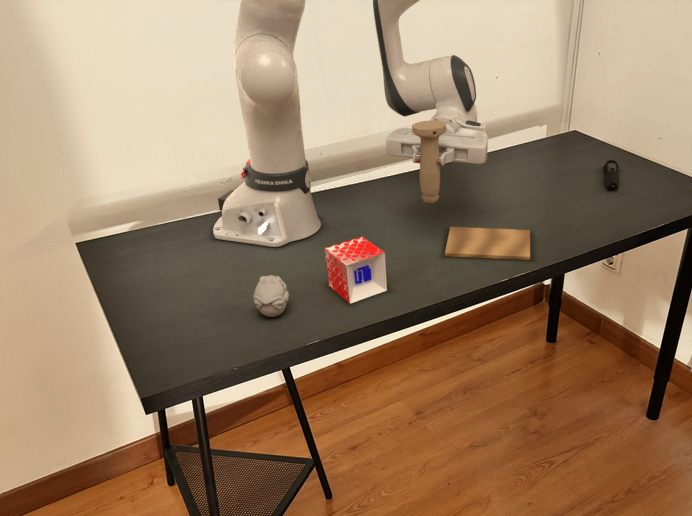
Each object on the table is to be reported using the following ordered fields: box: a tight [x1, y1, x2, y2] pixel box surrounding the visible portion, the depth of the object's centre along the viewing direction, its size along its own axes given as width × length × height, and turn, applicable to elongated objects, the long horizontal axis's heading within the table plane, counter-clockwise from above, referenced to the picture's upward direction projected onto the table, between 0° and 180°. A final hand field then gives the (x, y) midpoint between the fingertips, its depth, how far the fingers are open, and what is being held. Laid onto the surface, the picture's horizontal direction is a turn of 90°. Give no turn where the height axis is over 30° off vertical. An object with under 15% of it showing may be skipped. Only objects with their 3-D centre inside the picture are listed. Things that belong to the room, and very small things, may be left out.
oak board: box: [444, 226, 531, 261], centre depth 148 cm, size 17×12×1 cm
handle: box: [411, 119, 447, 204], centre depth 138 cm, size 5×6×15 cm
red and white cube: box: [324, 236, 388, 305], centre depth 132 cm, size 8×8×8 cm
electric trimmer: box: [603, 159, 620, 190], centre depth 176 cm, size 4×16×3 cm, turn 171°
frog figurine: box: [253, 274, 290, 318], centre depth 125 cm, size 6×7×7 cm
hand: (428, 160), depth 136 cm, fingers closed on handle, 3 cm apart
